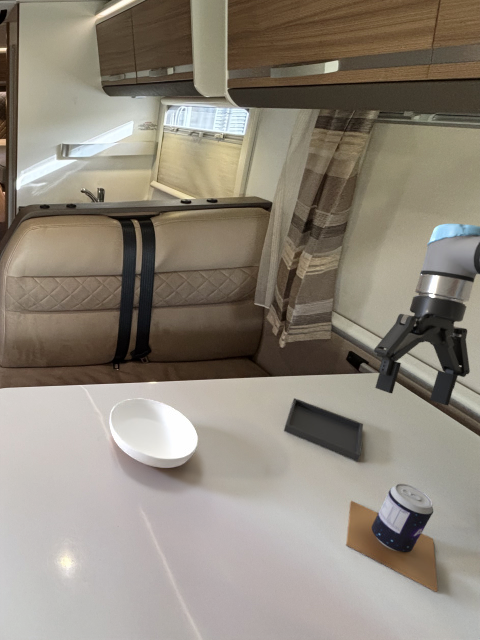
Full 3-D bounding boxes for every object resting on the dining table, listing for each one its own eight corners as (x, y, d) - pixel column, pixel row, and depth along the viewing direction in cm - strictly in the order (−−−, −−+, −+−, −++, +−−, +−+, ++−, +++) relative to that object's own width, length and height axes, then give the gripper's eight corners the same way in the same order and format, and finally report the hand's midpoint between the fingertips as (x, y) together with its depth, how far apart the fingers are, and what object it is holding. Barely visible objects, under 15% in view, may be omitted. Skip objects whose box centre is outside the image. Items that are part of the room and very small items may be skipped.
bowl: (153, 409, 115) (157, 391, 112) (212, 466, 98) (218, 445, 95) (91, 427, 109) (93, 408, 107) (142, 490, 92) (146, 469, 90)
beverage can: (408, 562, 77) (435, 516, 73) (367, 539, 81) (390, 494, 76) (412, 541, 80) (437, 496, 76) (372, 520, 84) (394, 476, 80)
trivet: (431, 540, 81) (433, 538, 81) (436, 592, 73) (437, 590, 73) (350, 502, 89) (351, 500, 89) (346, 545, 81) (347, 543, 80)
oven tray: (360, 429, 107) (363, 423, 106) (357, 461, 98) (360, 455, 97) (292, 403, 116) (294, 397, 115) (283, 430, 107) (285, 424, 106)
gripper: (467, 307, 93) (440, 400, 94) (369, 283, 90) (342, 379, 91) (514, 315, 85) (484, 415, 86) (409, 288, 83) (379, 392, 84)
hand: (411, 397), depth 89 cm, fingers open, 13 cm apart
